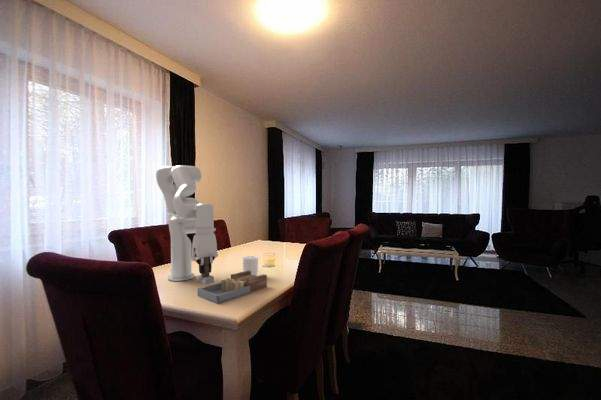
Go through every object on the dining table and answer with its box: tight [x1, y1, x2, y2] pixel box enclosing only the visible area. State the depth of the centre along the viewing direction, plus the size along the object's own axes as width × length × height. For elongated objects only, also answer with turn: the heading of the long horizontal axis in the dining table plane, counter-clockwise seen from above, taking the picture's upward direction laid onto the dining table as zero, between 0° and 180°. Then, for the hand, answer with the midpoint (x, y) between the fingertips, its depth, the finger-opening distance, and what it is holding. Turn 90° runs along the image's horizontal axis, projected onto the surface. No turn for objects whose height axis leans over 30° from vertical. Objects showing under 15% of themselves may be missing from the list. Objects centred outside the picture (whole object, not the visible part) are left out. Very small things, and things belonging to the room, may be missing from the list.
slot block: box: [230, 271, 268, 294], centre depth 129 cm, size 13×10×6 cm
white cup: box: [242, 255, 259, 276], centre depth 145 cm, size 8×8×10 cm
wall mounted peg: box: [196, 257, 215, 285], centre depth 126 cm, size 7×4×12 cm, turn 50°
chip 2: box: [230, 280, 244, 291], centre depth 122 cm, size 4×4×4 cm
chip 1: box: [221, 277, 235, 291], centre depth 125 cm, size 4×4×4 cm
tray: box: [197, 281, 251, 305], centre depth 119 cm, size 14×16×3 cm
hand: (205, 272), depth 126 cm, fingers closed on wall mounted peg, 2 cm apart
